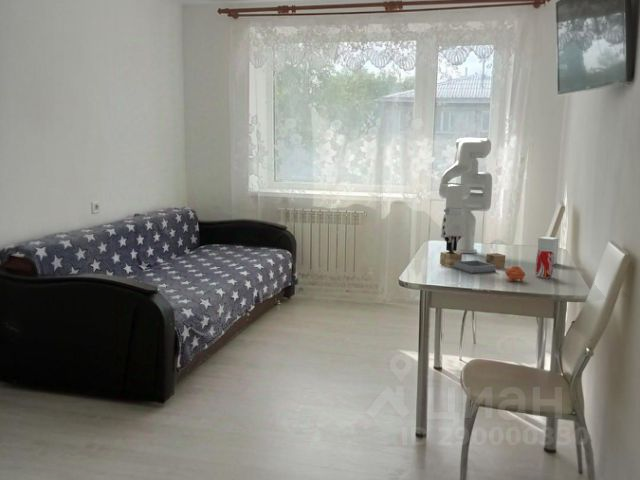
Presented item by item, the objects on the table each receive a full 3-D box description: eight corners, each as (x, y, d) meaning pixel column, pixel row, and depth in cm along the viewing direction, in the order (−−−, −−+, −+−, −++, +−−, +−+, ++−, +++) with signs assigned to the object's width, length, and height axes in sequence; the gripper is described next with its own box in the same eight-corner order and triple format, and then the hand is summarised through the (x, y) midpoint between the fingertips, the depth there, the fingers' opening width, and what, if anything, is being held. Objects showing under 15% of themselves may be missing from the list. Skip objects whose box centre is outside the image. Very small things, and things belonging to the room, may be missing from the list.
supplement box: (557, 263, 287) (559, 237, 285) (551, 265, 282) (553, 239, 280) (542, 261, 292) (544, 236, 290) (536, 263, 287) (538, 237, 285)
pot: (500, 278, 251) (504, 262, 250) (517, 282, 251) (522, 267, 251) (507, 281, 243) (512, 266, 242) (525, 286, 244) (530, 270, 243)
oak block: (439, 264, 279) (440, 252, 278) (451, 263, 282) (452, 251, 281) (448, 267, 272) (449, 254, 271) (461, 266, 275) (461, 253, 274)
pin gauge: (450, 259, 275) (451, 234, 273) (447, 258, 277) (449, 233, 275) (454, 259, 276) (455, 233, 274) (451, 258, 278) (452, 233, 276)
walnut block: (485, 266, 277) (486, 253, 276) (495, 265, 279) (496, 253, 278) (494, 268, 271) (495, 256, 271) (504, 268, 274) (505, 255, 273)
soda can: (544, 279, 252) (546, 251, 250) (531, 275, 258) (533, 248, 256) (555, 277, 255) (558, 250, 253) (542, 274, 261) (545, 247, 259)
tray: (454, 268, 271) (454, 261, 270) (476, 266, 276) (477, 260, 275) (472, 273, 259) (472, 267, 258) (495, 271, 264) (496, 265, 264)
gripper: (444, 212, 266) (442, 252, 269) (472, 211, 273) (470, 251, 276) (434, 210, 273) (432, 250, 276) (462, 210, 280) (460, 248, 282)
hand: (451, 250), depth 276 cm, fingers closed on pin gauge, 2 cm apart
